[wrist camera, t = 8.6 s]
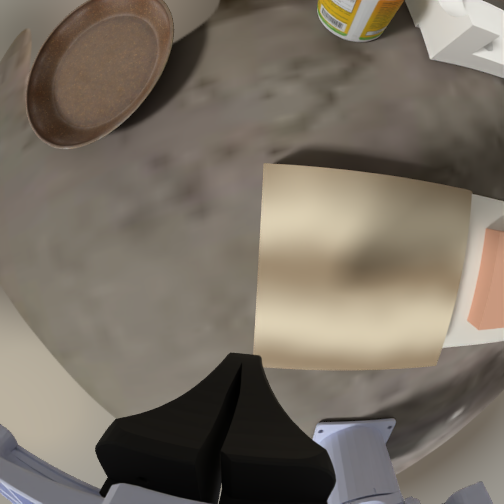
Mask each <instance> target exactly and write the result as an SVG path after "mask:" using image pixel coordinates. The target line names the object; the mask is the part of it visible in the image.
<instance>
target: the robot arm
mask: <svg viewBox="0 0 504 504" xmlns="http://www.w3.org/2000/svg"><path fill="white" fill-rule="evenodd" d="M395 424H396V420H395V419H394V418H390V419H379V420H366V421H348V422H320V423H318V424H317V425H316V429H315V432H314V436H313V439H311V438H309V437H308V436H307V435H306V434H305V433H304V432H303V431H302V430H301V429H300V428H299V427H298V426H297V425H296V424H295V423H294V422H293V421H292V420H291V419H290V417H289V416H288V415H287V413H286V412H285V411H284V409H283V408H282V407H281V405H280V404H279V402H278V400H277V399H276V397H275V395H274V393H273V391H272V389H271V387H270V385H269V383H268V380H267V378H266V375H265V372H264V369H263V365H262V357H261V356H260V355H250V354H240V353H229V354H228V355H227V356H226V358H225V359H224V360H223V361H222V362H221V363H220V364H219V365H218V366H217V367H216V368H215V369H214V370H213V371H212V372H211V373H210V374H209V375H208V376H207V377H206V378H205V379H204V380H202V381H201V382H200V383H199V384H197V385H196V386H195V387H194V388H192V389H191V390H190V391H188V392H187V393H185V394H183V395H182V396H180V397H179V398H177V399H175V400H173V401H171V402H169V403H167V404H165V405H163V406H160V407H158V408H155V409H153V410H150V411H147V412H144V413H140V414H137V415H132V416H128V417H123V418H118V419H115V421H114V422H113V423H112V424H111V425H110V426H109V427H108V429H107V430H106V431H105V433H104V434H103V436H102V437H101V439H100V440H99V442H98V443H97V445H96V448H95V452H96V454H97V458H98V460H99V462H100V464H101V466H102V467H103V469H104V471H105V473H106V475H107V477H108V478H107V480H106V481H105V483H104V485H103V487H102V488H101V489H99V488H97V487H94V486H92V485H90V484H88V483H86V482H83V481H81V480H79V479H77V478H75V477H73V476H71V475H69V474H67V473H65V472H63V471H61V470H59V469H57V468H55V467H54V466H52V465H50V464H48V463H47V462H45V461H43V460H41V459H40V458H38V457H37V456H35V455H33V454H32V453H30V452H28V451H27V450H25V449H24V448H22V447H21V446H19V445H18V443H17V441H16V439H15V438H14V436H13V435H12V434H11V432H10V431H9V430H7V428H5V427H4V426H2V425H1V424H0V493H1V494H2V495H3V496H5V497H6V498H7V499H8V500H9V501H11V502H12V503H13V504H218V499H219V494H220V488H221V483H222V492H221V496H220V501H219V504H421V503H420V500H419V499H417V498H413V497H412V496H411V497H409V498H406V499H405V501H404V499H403V496H402V494H401V492H400V489H399V486H398V482H397V479H396V476H395V472H394V469H393V466H392V463H391V460H390V457H389V454H388V450H387V447H386V442H387V440H388V438H389V436H390V434H391V432H392V430H393V428H394V426H395ZM405 502H406V503H405ZM443 504H493V502H492V500H491V498H490V496H489V494H488V492H487V490H486V488H485V486H484V484H483V482H482V481H480V482H477V483H475V484H473V485H470V486H468V487H465V488H462V489H460V490H458V491H456V492H455V493H453V494H452V495H451V496H450V497H449V498H448V499H447V501H446V502H445V503H443Z"/></svg>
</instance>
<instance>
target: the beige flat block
mask: <svg viewBox="0 0 504 504" xmlns="http://www.w3.org/2000/svg"><path fill="white" fill-rule="evenodd" d="M471 200H472V191H471V190H466V189H462V188H457V187H452V186H447V185H442V184H437V183H432V182H426V181H421V180H415V179H409V178H403V177H397V176H390V175H383V174H376V173H368V172H360V171H352V170H343V169H333V168H323V167H312V166H299V165H284V164H267V163H264V169H263V189H262V209H261V228H260V247H259V265H258V283H257V301H256V318H255V335H254V352H253V355H260V356H261V357H262V365H263V367H268V368H283V369H304V370H381V369H401V368H415V367H427V366H436V364H437V361H438V358H439V356H440V353H441V350H442V347H443V344H444V341H445V337H446V334H447V331H448V327H449V324H450V321H451V317H452V313H453V309H454V306H455V302H456V297H457V293H458V289H459V284H460V279H461V274H462V269H463V264H464V258H465V252H466V246H467V239H468V231H469V222H470V212H471Z"/></svg>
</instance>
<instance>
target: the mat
mask: <svg viewBox="0 0 504 504" xmlns="http://www.w3.org/2000/svg"><path fill="white" fill-rule="evenodd" d="M486 228H488V229H494V230H500V231H504V201H500V200H496V199H492V198H488V197H484V196H479V195H475V194H472V200H471V212H470V222H469V231H468V239H467V246H466V252H465V258H464V264H463V269H462V274H461V279H460V284H459V289H458V293H457V297H456V302H455V306H454V309H453V313H452V317H451V321H450V324H449V327H448V331H447V334H446V337H445V341H444V344H443V347H442V348H445V347H456V346H466V345H475V344H483V343H491V342H498V341H504V328H496V329H487V330H478V329H476V328H475V327H474V326H473V325H472V324H470V323H469V322H468V321H467V319H468V315H469V312H470V308H471V304H472V300H473V296H474V292H475V288H476V283H477V278H478V274H479V269H480V263H481V257H482V251H483V245H484V238H485V230H486Z"/></svg>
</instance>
